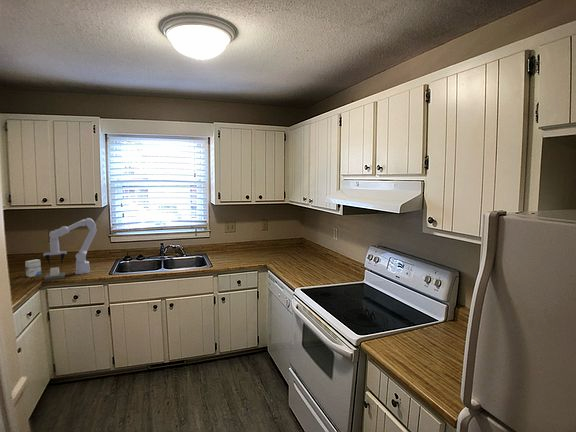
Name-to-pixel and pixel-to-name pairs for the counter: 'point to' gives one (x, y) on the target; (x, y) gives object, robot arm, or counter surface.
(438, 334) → the counter surface
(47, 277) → the stand
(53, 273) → the block
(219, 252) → the counter surface
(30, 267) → the ink box
